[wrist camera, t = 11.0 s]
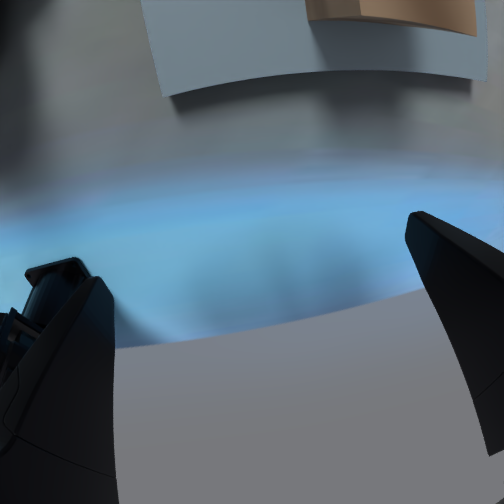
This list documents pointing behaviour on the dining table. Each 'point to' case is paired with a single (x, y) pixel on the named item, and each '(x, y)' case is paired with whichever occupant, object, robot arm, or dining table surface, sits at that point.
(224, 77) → the slate board
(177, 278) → the dining table surface
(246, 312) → the dining table surface
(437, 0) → the walnut cube
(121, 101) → the dining table surface
